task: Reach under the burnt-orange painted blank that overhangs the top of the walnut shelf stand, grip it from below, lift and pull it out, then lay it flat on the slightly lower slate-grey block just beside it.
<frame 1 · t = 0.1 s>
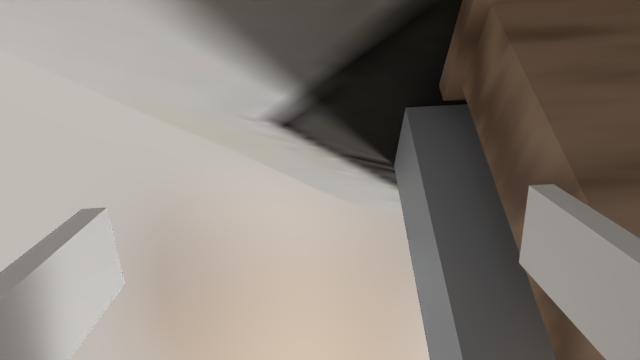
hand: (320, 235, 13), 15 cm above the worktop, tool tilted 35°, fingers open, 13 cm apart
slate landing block: (499, 133, 33), on the worktop
walnut shelf stand: (583, 28, 25), on the worktop
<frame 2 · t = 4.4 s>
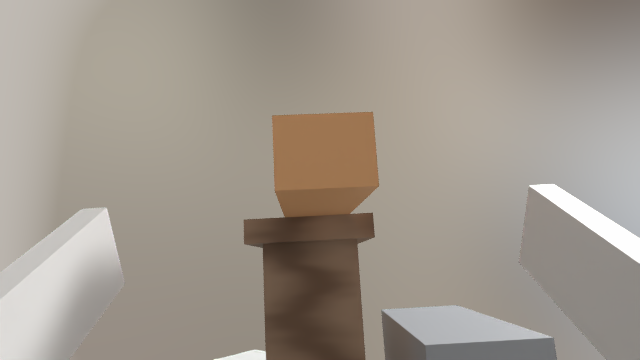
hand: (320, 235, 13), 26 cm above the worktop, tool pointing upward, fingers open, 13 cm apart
orange blank: (315, 220, 29), point 28 cm above the worktop, touching walnut shelf stand
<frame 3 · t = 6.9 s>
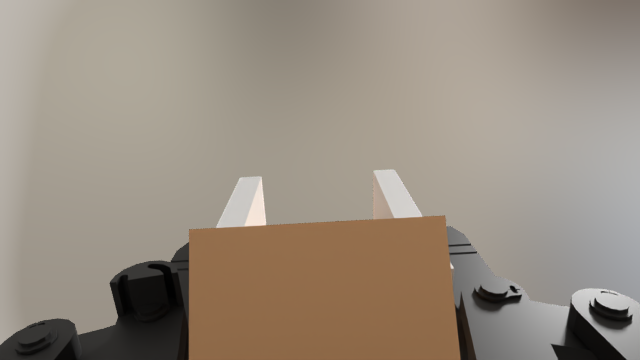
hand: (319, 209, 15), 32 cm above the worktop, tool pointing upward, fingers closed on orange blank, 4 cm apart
orange blank: (325, 311, 19), point 28 cm above the worktop, touching gripper
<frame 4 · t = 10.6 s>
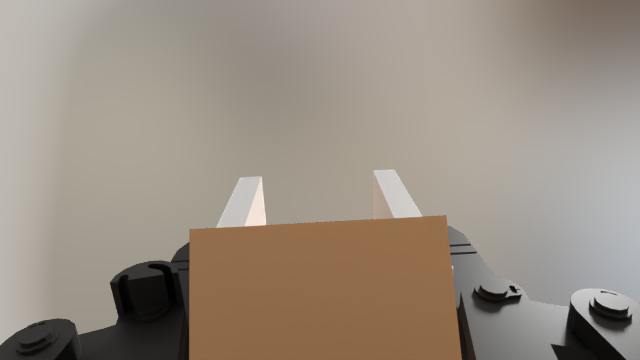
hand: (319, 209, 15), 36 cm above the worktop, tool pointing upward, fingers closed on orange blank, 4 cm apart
orange blank: (324, 311, 19), point 32 cm above the worktop, touching gripper
when the fingers open (27 cm above the worktop, at t = 14.4 s): orange blank drops 2 cm, resting on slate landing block.
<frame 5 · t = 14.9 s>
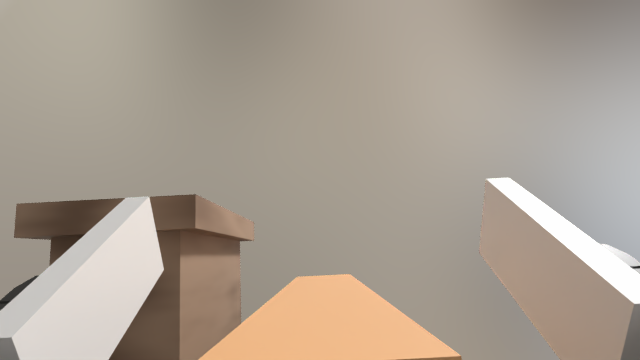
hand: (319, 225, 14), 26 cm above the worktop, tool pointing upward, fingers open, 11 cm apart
orange blank: (327, 359, 18), point 20 cm above the worktop, touching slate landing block
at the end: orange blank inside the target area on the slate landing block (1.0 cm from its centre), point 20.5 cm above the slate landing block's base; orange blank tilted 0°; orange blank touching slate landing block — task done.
